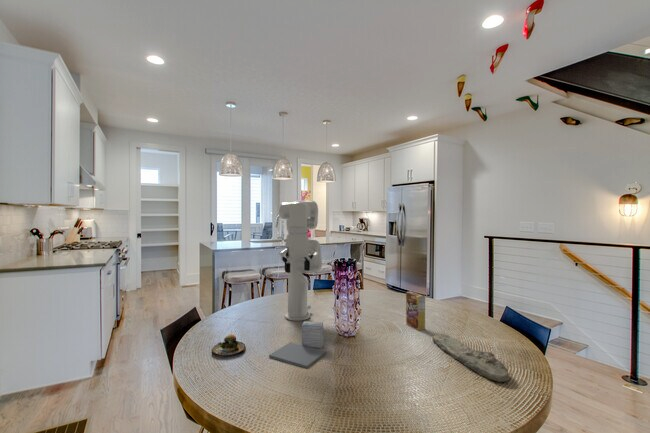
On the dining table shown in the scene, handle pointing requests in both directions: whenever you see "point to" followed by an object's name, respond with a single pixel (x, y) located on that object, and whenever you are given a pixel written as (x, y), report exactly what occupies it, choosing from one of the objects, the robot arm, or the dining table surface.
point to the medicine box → (312, 334)
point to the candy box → (415, 310)
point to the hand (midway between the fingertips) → (297, 271)
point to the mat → (298, 354)
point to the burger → (229, 346)
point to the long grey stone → (473, 358)
